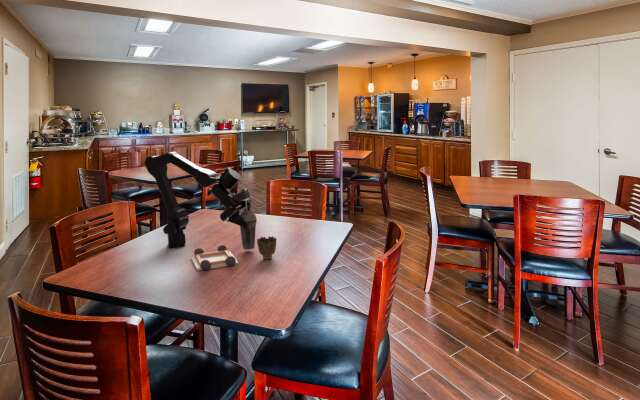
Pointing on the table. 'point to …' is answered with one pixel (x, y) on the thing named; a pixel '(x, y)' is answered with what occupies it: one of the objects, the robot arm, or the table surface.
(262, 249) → the cup
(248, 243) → the beverage cup
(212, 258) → the chassis
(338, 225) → the table surface
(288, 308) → the table surface
